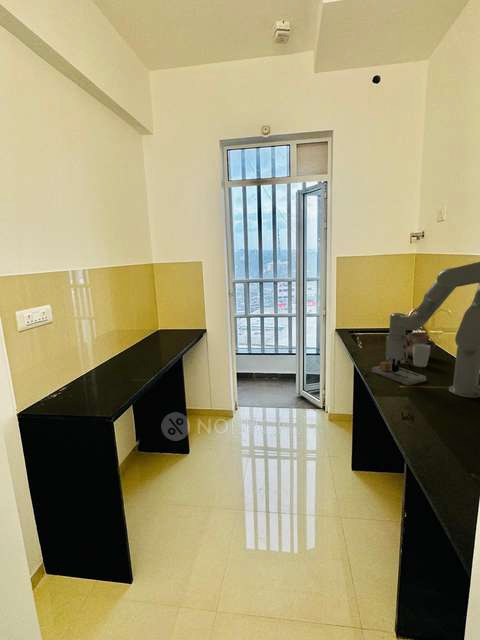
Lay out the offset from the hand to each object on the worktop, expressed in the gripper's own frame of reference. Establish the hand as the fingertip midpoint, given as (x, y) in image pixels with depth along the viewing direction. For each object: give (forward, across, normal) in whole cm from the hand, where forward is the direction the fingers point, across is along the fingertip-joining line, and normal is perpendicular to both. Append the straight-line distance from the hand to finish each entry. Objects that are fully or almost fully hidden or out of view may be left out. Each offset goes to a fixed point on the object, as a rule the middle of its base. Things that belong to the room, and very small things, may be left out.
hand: (394, 371), depth 175 cm
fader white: (+1, +7, -8) cm, 11 cm away
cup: (+4, +8, -30) cm, 32 cm away
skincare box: (+4, +20, -22) cm, 30 cm away
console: (+4, +1, -4) cm, 5 cm away
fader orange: (+1, +6, 0) cm, 6 cm away
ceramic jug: (+4, +20, -44) cm, 49 cm away
